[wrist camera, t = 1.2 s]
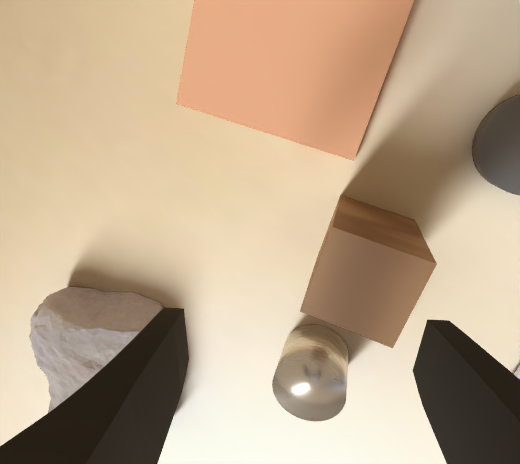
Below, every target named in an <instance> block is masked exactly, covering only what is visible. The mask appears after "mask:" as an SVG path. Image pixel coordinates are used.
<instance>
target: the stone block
mask: <svg viewBox="0 0 520 464" xmlns="http://www.w3.org/2000/svg"><path fill="white" fill-rule="evenodd" d="M163 308H164V307H163V305H162V304H161V303H159V302H157V301H155V300H151V299H148V298H146V297H144V296H141V295H139V294H136V293H133V292H117V291H113V292H104V291H100V290H97V289H93V288H80V287H73V286H72V287H67V288H64V289H62V290H60V291H58V292H55V293H53V294H50V295H49V296H48V297H46V299H45V300H44V301H43V303H42V304H40V305H39V307H38V309H37V310H36V311H35V313H34V314H33V316H32V318H31V333H30V340H31V343H32V348H33V351H34V354H35V358H36V361H37V365H38V366H39V367H40V369H41V370H42V371H43V372H44V373H45V375H46V377H47V379H48V382H49V393H50V397H51V400H50V406H49V411H48V413H49V412H50V411H52V410H53V409H54V408H56V407H57V406H58V405H59V404H61V403H62V402H63V401H65V400H66V399H67V398H68V397H70V396H71V395H72V394H73V393H74V392H76V391H77V390H78V389H79V388H80V387H82V386H83V385H84V384H85V383H86V382H88V381H89V380H90V379H91V378H92V377H93V376H94V375H95V374H96V373H98V372H99V371H100V370H101V369H102V368H103V367H104V366H105V365H107V364H108V363H109V362H110V361H111V360H112V359H113V358H114V357H115V356H116V355H117V354H118V353H119V352H120V351H121V350H122V349H123V348H124V347H125V346H126V345H127V344H128V343H129V342H130V341H132V340H133V338H134V337H135V336H136V335H137V334H138V333H139V332H140V331H141V330H142V329H143V328H144V327H145V326H146V325H147V324H148V323H149V322H150V321H151V320H152V319H153V318H154V317H155V316H156V315H157V314H158V313H159V312H160V311H161V310H162V309H163Z"/></svg>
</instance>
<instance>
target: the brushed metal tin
mask: <svg viewBox="0 0 520 464" xmlns="http://www.w3.org/2000/svg"><path fill="white" fill-rule="evenodd" d="M347 371H348V350H347V346H346V344H345V342H344V341H343V339H342V338H341V337H340V336H339V335H338V334H337V333H336V332H334V331H333V330H331V329H329V328H327V327H324V326H320V325H304V326H301V327H298V328H296V329H295V330H293V331H292V332H291V333H290V334H289V336H288V337H287V339H286V342H285V345H284V348H283V351H282V354H281V357H280V360H279V363H278V366H277V369H276V372H275V375H274V378H273V383H272V385H273V392H274V395H275V397H276V399H277V401H278V402H279V403H280V405H281V406H282V407H283V408H284V409H285V410H286V411H288V412H289V413H291V414H292V415H294V416H296V417H298V418H301V419H304V420H309V421H324V420H328V419H330V418H333V417H334V416H336V415H337V414H338V413H339V412H340V411H341V410H342V409H343V407H344V405H345V401H346V389H347Z"/></svg>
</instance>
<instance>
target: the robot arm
mask: <svg viewBox="0 0 520 464" xmlns="http://www.w3.org/2000/svg"><path fill="white" fill-rule="evenodd" d="M188 360H189V356H188V346H187V336H186V327H185V317H184V309H179V308H163V309H162V310H161V311H160V312H159V313H158V314H157V315H156V316H155V317H154V318H153V319H152V320H151V321H150V322H149V323H148V324H147V325H146V326H145V327H144V328H143V329H142V330H141V331H140V332H139V333H138V334H137V335H136V336H135V337H134V338H133V340H132V341H130V342H129V343H128V344H127V345H126V346H125V347H124V348H123V349H122V350H121V351H120V352H119V353H118V354H117V355H116V356H115V357H114V358H113V359H112V360H111V361H110V362H109V363H108V364H107V365H105V366H104V367H103V368H102V369H101V370H100V371H99V372H98V373H96V374H95V375H94V376H93V377H92V378H91V379H90V380H89V381H88V382H86V383H85V384H84V385H83V386H82V387H80V388H79V389H78V390H77V391H76V392H74V393H73V394H72V395H71V396H70V397H68V398H67V399H66V400H65V401H63V402H62V403H61V404H59V405H58V406H57V407H56V408H54V409H53V410H52V411H50V412H49V413H48V414H46V415H45V416H44V417H42V418H41V419H39V420H38V421H37V422H35V423H34V424H32V425H31V426H29V427H28V428H26V429H25V430H24V431H22V432H21V433H19V434H18V435H16V436H15V437H13V438H12V439H10V440H9V441H8V442H6V443H5V444H3V445H2V446H0V464H157V463H158V460H159V457H160V454H161V451H162V448H163V445H164V442H165V440H166V437H167V434H168V431H169V428H170V425H171V422H172V419H173V416H174V413H175V410H176V407H177V404H178V401H179V398H180V395H181V392H182V388H183V384H184V379H185V375H186V370H187V365H188ZM413 373H414V376H415V380H416V384H417V388H418V391H419V395H420V398H421V401H422V405H423V407H424V410H425V412H426V415H427V417H428V419H429V422H430V424H431V427H432V429H433V432H434V434H435V436H436V439H437V441H438V443H439V446H440V448H441V450H442V453H443V455H444V458H445V460H446V462H447V464H520V366H519V367H518V369H517V370H516V371H515V373H514V374H513V373H511V372H510V371H509V370H508V369H507V368H505V367H504V366H503V365H502V364H501V363H499V362H498V361H497V360H496V359H495V358H493V357H492V356H491V355H490V354H489V353H487V352H486V351H485V350H484V349H483V348H481V347H480V346H479V345H478V344H477V343H476V342H474V341H473V340H472V339H471V338H470V337H468V336H467V335H466V334H465V333H464V332H462V331H461V330H460V329H459V328H458V327H456V326H455V325H454V324H452V323H451V322H450V321H445V320H427V323H426V327H425V330H424V333H423V337H422V340H421V344H420V347H419V351H418V354H417V358H416V361H415V365H414V368H413Z"/></svg>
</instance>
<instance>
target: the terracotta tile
mask: <svg viewBox="0 0 520 464" xmlns="http://www.w3.org/2000/svg"><path fill="white" fill-rule="evenodd" d="M413 2H414V0H194V6H193V12H192V17H191V23H190V29H189V34H188V40H187V46H186V51H185V57H184V63H183V68H182V74H181V80H180V85H179V91H178V97H177V102H176V104H178V105H181V106H184V107H187V108H191V109H194V110H197V111H200V112H203V113H206V114H209V115H212V116H216V117H219V118H222V119H225V120H228V121H231V122H234V123H237V124H241V125H244V126H247V127H250V128H253V129H256V130H259V131H263V132H266V133H269V134H272V135H275V136H278V137H281V138H284V139H288V140H291V141H294V142H297V143H300V144H303V145H306V146H309V147H313V148H316V149H319V150H322V151H325V152H328V153H331V154H334V155H338V156H341V157H344V158H347V159H350V160H353V161H354V159H355V157H356V154H357V151H358V149H359V146H360V143H361V141H362V138H363V135H364V133H365V130H366V127H367V125H368V122H369V119H370V117H371V114H372V111H373V109H374V106H375V103H376V101H377V98H378V95H379V93H380V90H381V87H382V85H383V82H384V79H385V77H386V74H387V71H388V69H389V66H390V64H391V61H392V58H393V56H394V53H395V50H396V48H397V45H398V42H399V40H400V37H401V34H402V32H403V29H404V26H405V24H406V21H407V18H408V16H409V13H410V10H411V8H412V5H413Z"/></svg>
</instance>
